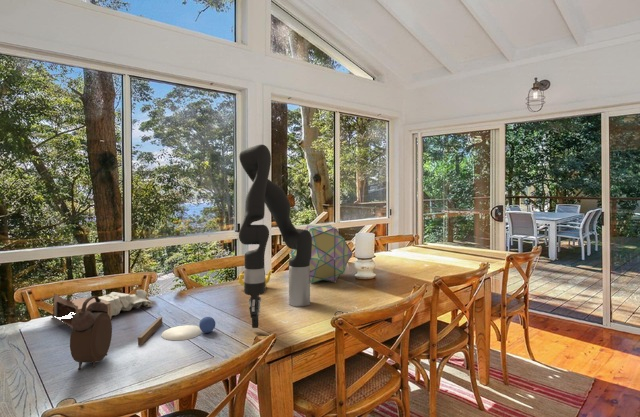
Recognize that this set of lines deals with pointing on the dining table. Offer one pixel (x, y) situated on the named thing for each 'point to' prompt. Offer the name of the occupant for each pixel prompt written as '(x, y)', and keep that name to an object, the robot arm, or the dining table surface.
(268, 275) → the teapot
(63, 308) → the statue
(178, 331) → the disc
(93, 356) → the alarm clock
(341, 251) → the sculpture
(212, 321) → the ball
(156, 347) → the dining table surface
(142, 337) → the strip
